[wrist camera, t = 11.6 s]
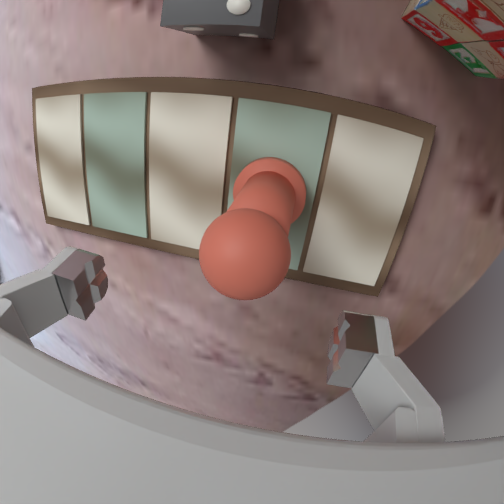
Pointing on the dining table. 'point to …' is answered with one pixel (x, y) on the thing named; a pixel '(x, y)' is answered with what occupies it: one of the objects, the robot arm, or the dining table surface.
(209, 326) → the dining table surface
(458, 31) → the stack of blocks
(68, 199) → the board
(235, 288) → the pawn
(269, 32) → the die
